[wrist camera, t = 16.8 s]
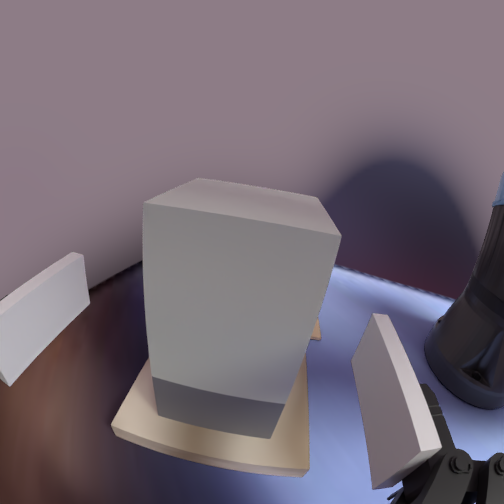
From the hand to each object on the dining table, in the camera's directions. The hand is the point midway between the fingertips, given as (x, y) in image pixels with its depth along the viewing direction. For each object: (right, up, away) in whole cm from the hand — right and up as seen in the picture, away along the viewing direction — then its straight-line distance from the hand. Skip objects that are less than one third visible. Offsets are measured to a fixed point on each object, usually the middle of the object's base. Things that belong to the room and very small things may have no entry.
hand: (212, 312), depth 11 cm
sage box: (0, -7, +6) cm, 9 cm away
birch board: (-1, -8, +7) cm, 11 cm away
